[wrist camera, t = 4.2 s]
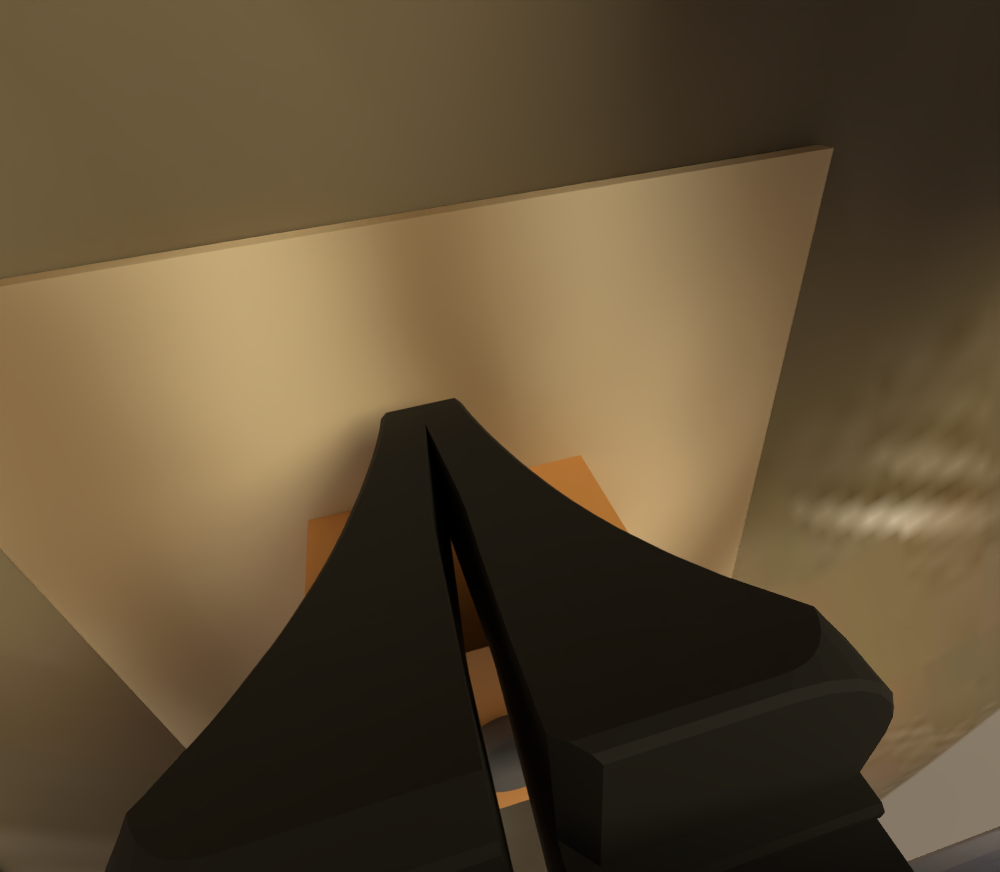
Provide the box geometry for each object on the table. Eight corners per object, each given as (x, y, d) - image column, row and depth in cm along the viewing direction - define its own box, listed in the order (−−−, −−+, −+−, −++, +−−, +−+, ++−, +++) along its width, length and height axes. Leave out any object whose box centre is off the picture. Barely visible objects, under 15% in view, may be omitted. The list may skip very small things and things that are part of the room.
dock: (270, 825, 19) (253, 1050, 15) (-189, 310, 8) (-805, 632, 4) (696, 692, 21) (788, 855, 17) (818, 144, 10) (1176, 220, 6)
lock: (375, 677, 15) (389, 879, 11) (308, 520, 12) (298, 739, 8) (583, 618, 16) (659, 788, 12) (580, 454, 12) (685, 625, 9)
